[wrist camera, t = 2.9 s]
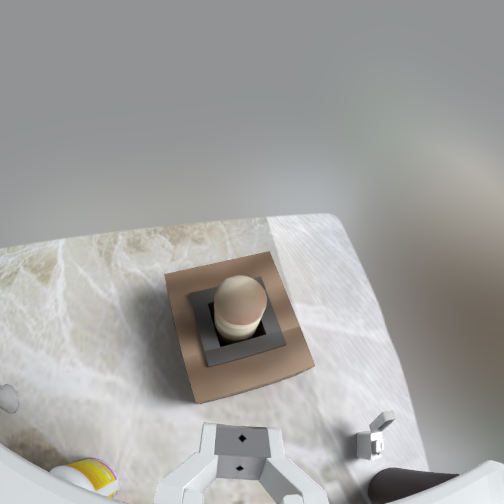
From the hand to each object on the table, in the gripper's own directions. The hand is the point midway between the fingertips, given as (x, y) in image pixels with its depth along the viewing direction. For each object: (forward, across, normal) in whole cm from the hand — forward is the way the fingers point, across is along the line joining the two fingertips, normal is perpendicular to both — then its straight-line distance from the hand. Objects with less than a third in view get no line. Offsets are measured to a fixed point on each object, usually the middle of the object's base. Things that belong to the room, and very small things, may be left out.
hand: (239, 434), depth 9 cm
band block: (+28, 0, -12) cm, 30 cm away
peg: (+23, 0, -7) cm, 24 cm away
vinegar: (+10, +25, -29) cm, 40 cm away
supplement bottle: (+10, -17, -29) cm, 35 cm away
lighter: (+17, +20, -22) cm, 34 cm away
